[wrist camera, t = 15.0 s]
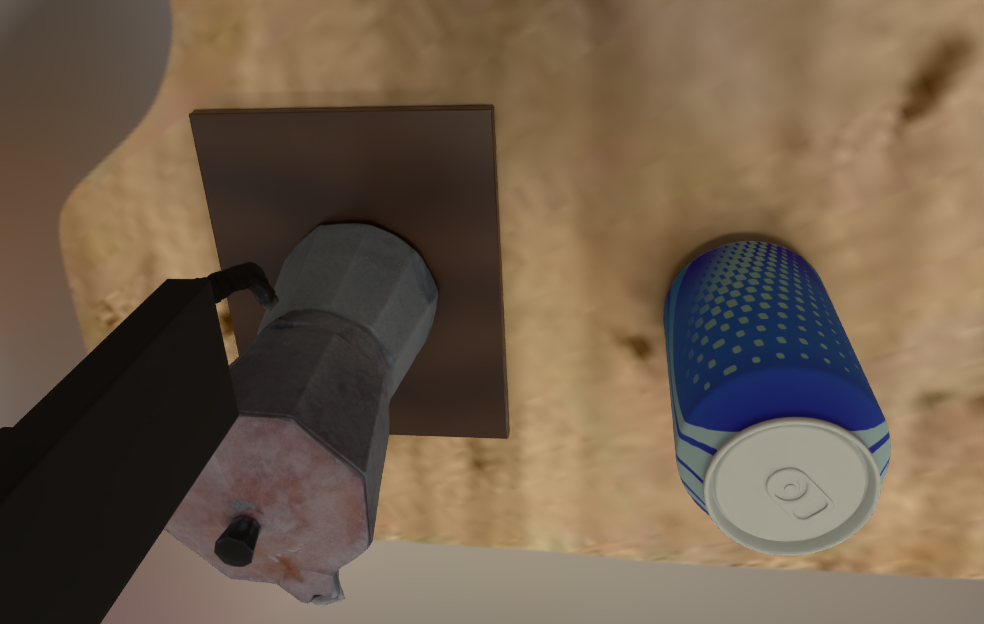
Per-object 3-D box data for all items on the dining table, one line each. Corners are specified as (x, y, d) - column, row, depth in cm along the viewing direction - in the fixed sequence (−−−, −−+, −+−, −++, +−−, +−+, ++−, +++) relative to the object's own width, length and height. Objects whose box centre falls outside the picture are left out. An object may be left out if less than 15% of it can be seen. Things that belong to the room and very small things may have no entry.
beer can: (663, 370, 51) (679, 572, 37) (661, 234, 47) (678, 401, 33) (817, 367, 49) (895, 575, 35) (828, 227, 46) (920, 397, 32)
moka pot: (352, 419, 54) (222, 695, 37) (212, 200, 49) (-21, 402, 31) (491, 370, 51) (423, 643, 34) (359, 130, 46) (195, 309, 28)
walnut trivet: (194, 109, 47) (187, 113, 46) (493, 104, 45) (491, 109, 44) (258, 423, 56) (254, 430, 56) (509, 431, 54) (508, 439, 53)
